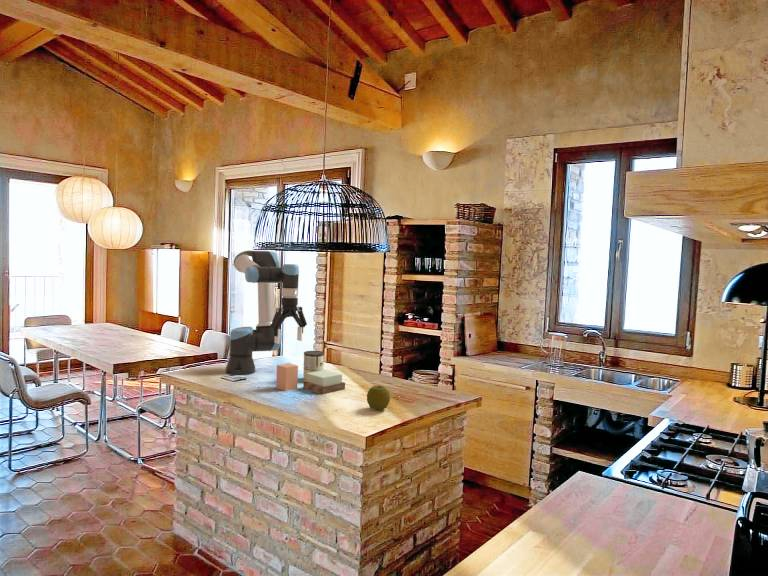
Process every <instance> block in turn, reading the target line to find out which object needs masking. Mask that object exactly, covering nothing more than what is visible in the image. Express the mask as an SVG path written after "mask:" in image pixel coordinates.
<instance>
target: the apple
mask: <svg viewBox="0 0 768 576" xmlns="http://www.w3.org/2000/svg"><path fill="white" fill-rule="evenodd" d="M390 400H391V395H390V391H389V390H388V388H386V387H385V386H383V385H373V386H372V387H371V388H369V389H368V391H367V393H366V401H367V403H368V406H369V408H370V409H373V411H383V410H385V409H386V408H387V407H388V406H389V404H390Z"/></svg>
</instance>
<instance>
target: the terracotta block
mask: <svg viewBox="0 0 768 576" xmlns="http://www.w3.org/2000/svg"><path fill="white" fill-rule="evenodd" d="M298 372H299V365H297V364H293V363H289V362H288V363H280V364H276V380H275V381H276V382H275V383H276V384H275V385H276V388H275V389H278V390H281V391H285V392H286V391H291V390H292V391H293V390H296V389H298V380H299V379H298V377H299V375H298V374H299V373H298Z"/></svg>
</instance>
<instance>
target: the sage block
mask: <svg viewBox="0 0 768 576" xmlns="http://www.w3.org/2000/svg"><path fill="white" fill-rule="evenodd" d="M306 382H309V383H313V384H316V385H320V386H328V385H333V384H338V383H342V382H343V373H338V372H335V371H331V370H327V369H323V371H317V372H311V373H306Z"/></svg>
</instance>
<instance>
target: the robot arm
mask: <svg viewBox="0 0 768 576" xmlns="http://www.w3.org/2000/svg"><path fill="white" fill-rule="evenodd" d="M233 267H234V268H235V269H236V270H237V271H238V272H240V273H243V274H244V279H245V281H246V283H252V284H256V283H257V305H258V306H257V307H258V309H257V310H258V312H257V313H258V323H257V324H256V325H255V329H254V327H252V326H239V327H236V328H233V329H231V330H230V333H229V358H228V360H227V364H226V367H225V373H226V374H229V375H235V376H236V375H240V376H241V375H251V374H254V373H255V372H256V366H255V365H256V364H255V361H254V358H253V353H254V352H272V351H274V352H275V351H278V349H280V346H281V343H282V338H283V333H282V330H281V328H280V327H281V326H282V324H283V323H284V321H285V320H286V319H287V318H290V317H291V318H293V319H294V321H295V323H296V324H297V325H298V326H297V328H296V329H297V330H296V331H297V334H296V340H297V341H300V342H302V341H303V334H304V328H305V327H306V326H307V325H308V323H307V320H306V317H305V314H304V311H303V307H302V306H298V305H299V304H298V301H299V299H298V297H299V276H300V275H299V274H300V268H299V265H298V264H293V263H284V264H283V265H282V266H281V264H280V258H279V256H278V253H276V252H275V251H269V250H244V251H241V252H240V253H237V254H236V256H235V257H234V259H233ZM275 284H281V307H276V309H275Z"/></svg>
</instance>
